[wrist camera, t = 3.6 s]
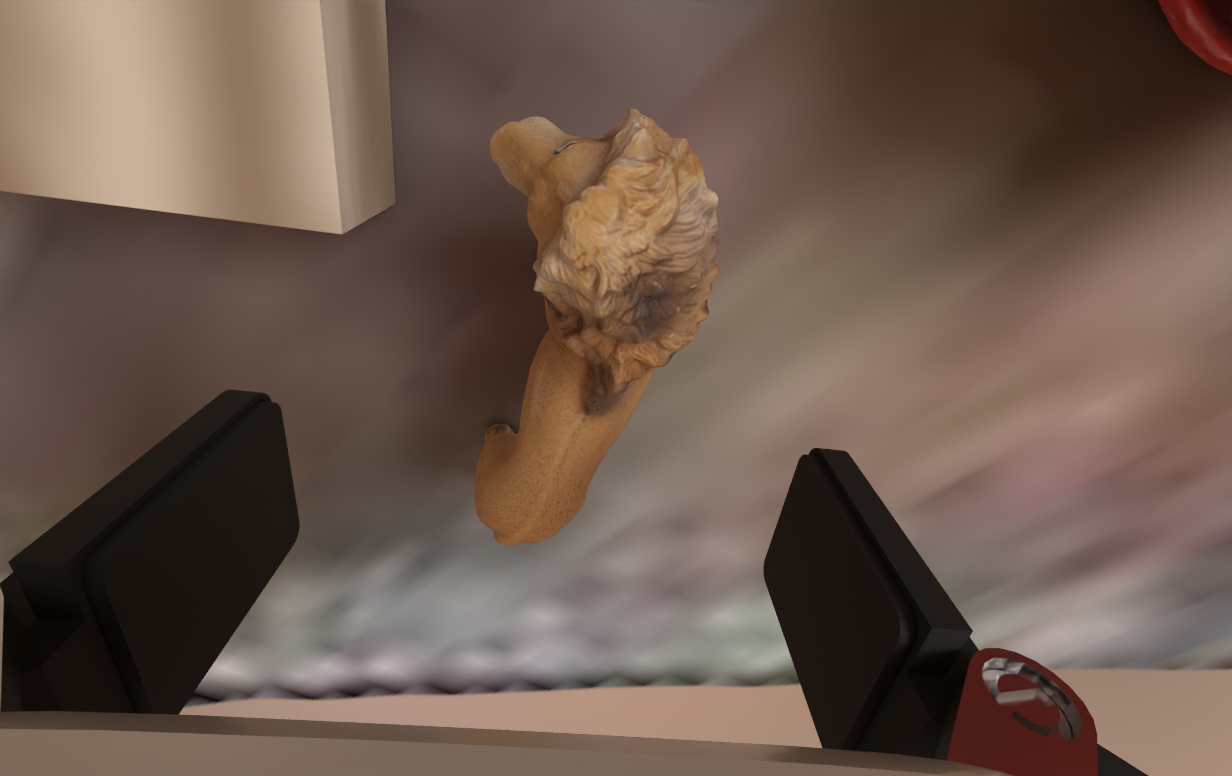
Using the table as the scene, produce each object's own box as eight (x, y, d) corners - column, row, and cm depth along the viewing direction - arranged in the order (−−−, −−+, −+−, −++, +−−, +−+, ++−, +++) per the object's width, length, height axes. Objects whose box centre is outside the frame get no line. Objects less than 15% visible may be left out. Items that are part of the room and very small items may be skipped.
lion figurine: (538, 75, 16) (470, 69, 8) (716, 125, 17) (818, 164, 9) (475, 480, 23) (405, 694, 15) (603, 503, 23) (602, 720, 15)
